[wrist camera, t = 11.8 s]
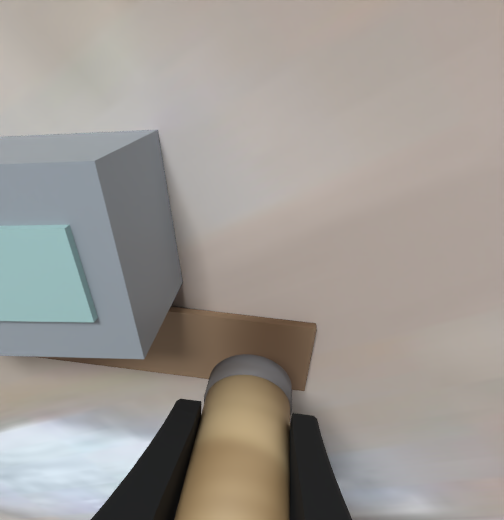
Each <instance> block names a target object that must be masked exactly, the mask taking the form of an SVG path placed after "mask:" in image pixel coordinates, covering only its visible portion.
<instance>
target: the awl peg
mask: <svg viewBox="0 0 504 520" xmlns="http://www.w3.org/2000/svg"><path fill="white" fill-rule="evenodd" d="M291 411H292V385H291V380H290V378H289V376H288V374H287V373H286V371H285V370H284V369H283V368H282V367H281V366H280V365H278V364H277V363H275V362H274V361H272V360H270V359H267V358H265V357H261V356H257V355H249V354H242V355H235V356H231V357H229V358H226V359H224V360H222V361H221V362H219V363H218V364H217V365H216V366H215V367H214V368H213V370H212V372H211V374H210V377H209V381H208V385H207V389H206V392H205V396H204V407H203V411H202V414H201V419H200V423H199V427H198V430H197V434H196V438H195V442H194V446H193V450H192V453H191V457H190V461H189V465H188V469H187V473H186V476H185V480H184V484H183V488H182V492H181V496H180V500H179V504H178V507H177V511H176V515H175V519H174V520H290V415H291Z"/></svg>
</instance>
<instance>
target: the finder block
mask: <svg viewBox="0 0 504 520" xmlns="http://www.w3.org/2000/svg"><path fill="white" fill-rule="evenodd" d="M182 283H183V280H182V274H181V268H180V262H179V256H178V250H177V244H176V238H175V232H174V226H173V220H172V214H171V208H170V202H169V196H168V189H167V183H166V177H165V171H164V165H163V159H162V153H161V147H160V141H159V135H158V130H142V131H120V132H97V133H75V134H53V135H30V136H8V137H0V356H35V357H74V358H114V359H145V357H146V355H147V353H148V351H149V349H150V347H151V345H152V343H153V341H154V339H155V337H156V335H157V333H158V331H159V329H160V327H161V325H162V323H163V321H164V319H165V317H166V315H167V313H168V311H169V309H170V307H171V305H172V303H173V301H174V299H175V297H176V295H177V293H178V291H179V289H180V287H181V285H182Z"/></svg>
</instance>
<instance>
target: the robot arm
mask: <svg viewBox="0 0 504 520" xmlns="http://www.w3.org/2000/svg"><path fill="white" fill-rule="evenodd" d="M200 419H201V401H193V400H186V399H179V400H178V401H176V403H175V405H174V407H173V409H172V410H171V412H170V414H169V415H168V417H167V419H166V420H165V422H164V424H163V425H162V427H161V428H160V430H159V431H158V433H157V434H156V436H155V437H154V439H153V440H152V442H151V443H150V445H149V446H148V447H147V449H146V450H145V451H144V453H143V454H142V456H141V457H140V458H139V460H138V461H137V463H136V464H135V465H134V467H133V468H132V469H131V471H130V472H129V473H128V475H127V476H126V477H125V478H124V480H123V481H122V482H121V484H120V485H119V486H118V487H117V489H116V490H115V491H114V492H113V494H112V495H111V496H110V497H109V499H108V500H107V501H106V502H105V504H104V505H103V506H102V507H101V508H100V510H99V511H98V512H97V513H96V514H95V515H94V517H93V518H92V519H91V520H174V519H175V515H176V511H177V507H178V504H179V500H180V496H181V492H182V488H183V484H184V480H185V476H186V473H187V469H188V465H189V461H190V457H191V453H192V450H193V446H194V442H195V438H196V434H197V430H198V427H199V423H200ZM290 520H352V518H351V516H350V514H349V511H348V509H347V506H346V504H345V501H344V499H343V496H342V494H341V491H340V489H339V486H338V484H337V481H336V479H335V476H334V473H333V470H332V468H331V465H330V462H329V459H328V456H327V453H326V450H325V447H324V443H323V440H322V437H321V433H320V429H319V425H318V421H317V419H316V418H315V416H310V415H302V414H294V413H292V418H291V424H290Z"/></svg>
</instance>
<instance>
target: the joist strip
mask: <svg viewBox="0 0 504 520" xmlns="http://www.w3.org/2000/svg"><path fill="white" fill-rule="evenodd" d="M315 334H316V324H315V323H307V322H298V321H290V320H281V319H273V318H264V317H256V316H247V315H239V314H230V313H222V312H213V311H205V310H196V309H188V308H179V307H170V309H169V311H168V313H167V315H166V317H165V319H164V321H163V323H162V325H161V327H160V329H159V331H158V333H157V335H156V337H155V339H154V341H153V343H152V345H151V347H150V349H149V351H148V353H147V355H146V357H145V359H114V358H74V357H40V358H48V359H56V360H64V361H72V362H79V363H87V364H95V365H103V366H111V367H119V368H127V369H135V370H142V371H150V372H158V373H166V374H174V375H182V376H190V377H198V378H205V379H209V377H210V374H211V372H212V370H213V368H214V367H215V366H216V365H217V364H218V363H219V362H221V361H222V360H224V359H226V358H229V357H231V356H235V355H242V354H249V355H257V356H261V357H265V358H267V359H270V360H272V361H274V362H275V363H277V364H278V365H280V366H281V367H282V368H283V369H284V370H285V371H286V373H287V374H288V376H289V378H290V380H291V385H292V390H300V391H304V390H305V385H306V380H307V375H308V370H309V364H310V359H311V354H312V349H313V344H314V339H315ZM32 357H35V356H32Z"/></svg>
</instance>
